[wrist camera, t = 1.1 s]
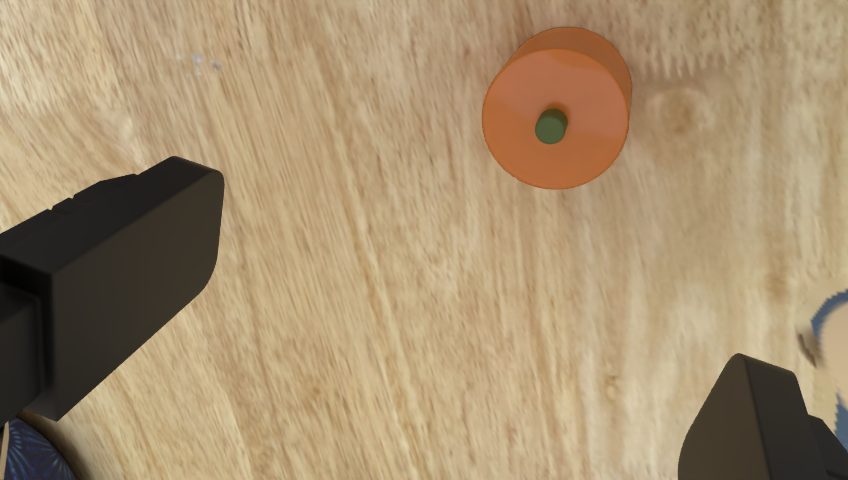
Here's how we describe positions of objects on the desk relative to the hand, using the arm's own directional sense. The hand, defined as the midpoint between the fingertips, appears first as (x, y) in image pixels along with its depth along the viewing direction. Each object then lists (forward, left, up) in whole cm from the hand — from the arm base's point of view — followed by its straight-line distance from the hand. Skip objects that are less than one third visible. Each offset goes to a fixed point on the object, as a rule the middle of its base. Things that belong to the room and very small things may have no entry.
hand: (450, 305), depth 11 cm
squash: (0, 0, -13) cm, 13 cm away
